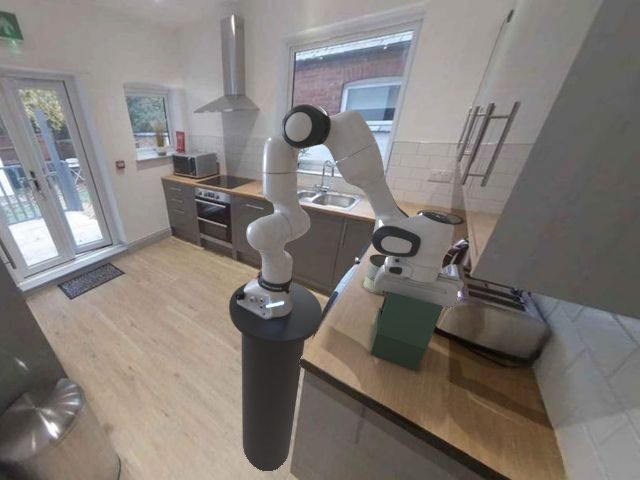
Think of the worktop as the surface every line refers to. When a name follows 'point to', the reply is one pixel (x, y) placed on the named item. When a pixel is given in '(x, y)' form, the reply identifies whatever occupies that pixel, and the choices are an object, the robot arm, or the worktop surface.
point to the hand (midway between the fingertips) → (406, 307)
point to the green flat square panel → (409, 320)
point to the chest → (394, 348)
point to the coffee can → (374, 273)
